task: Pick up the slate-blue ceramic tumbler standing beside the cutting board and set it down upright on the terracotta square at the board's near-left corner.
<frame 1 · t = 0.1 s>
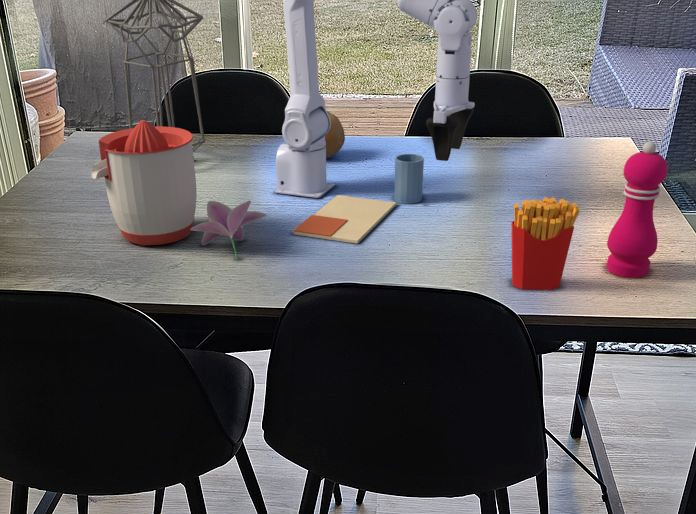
hand: (448, 154, 149), 10 cm above the table, tool pointing down, fingers open, 7 cm apart
geometric lantern: (170, 164, 181), on the table
french fries: (536, 285, 125), on the table
lily: (230, 251, 139), on the table
tumbler: (408, 199, 158), on the table
pepper mill: (627, 271, 129), on the table
citrus juicer: (153, 236, 145), on the table
cutting board: (346, 219, 150), on the table
onion: (322, 158, 183), on the table
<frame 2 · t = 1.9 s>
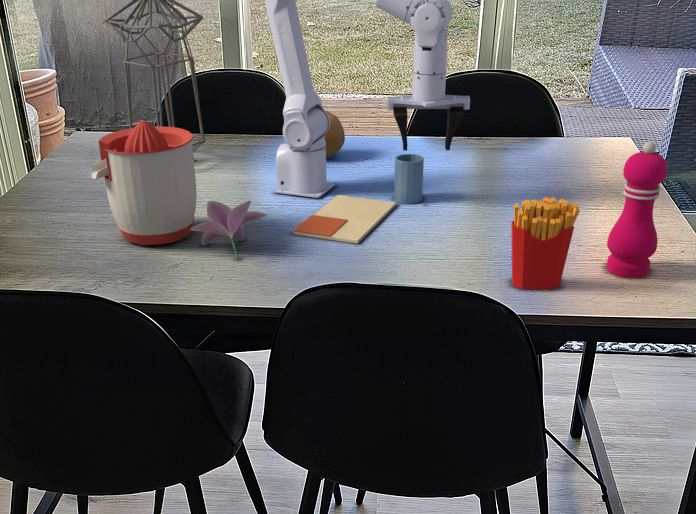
hand: (426, 149, 151), 10 cm above the table, tool pointing down, fingers open, 7 cm apart
nothing on the table moved.
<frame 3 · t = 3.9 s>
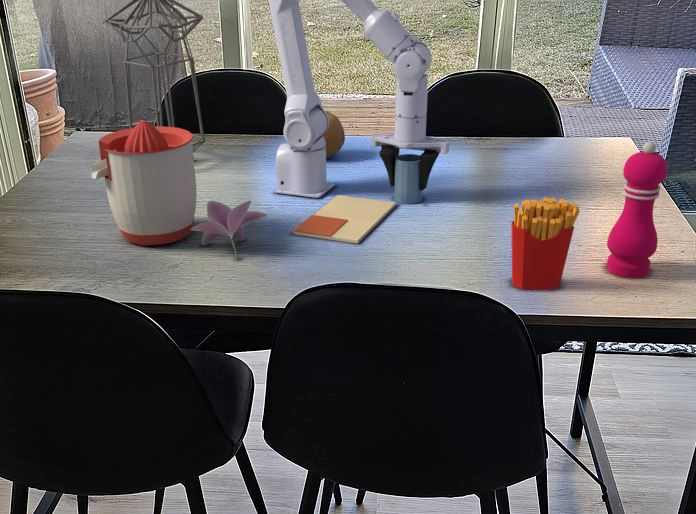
hand: (408, 186, 157), 2 cm above the table, tool pointing down, fingers closed on tumbler, 5 cm apart
tumbler: (408, 199, 158), on the table, touching gripper
everything else where it was.
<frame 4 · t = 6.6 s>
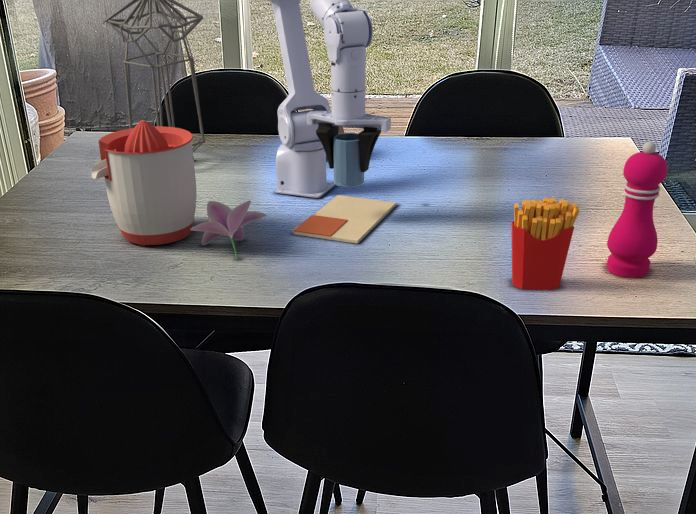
hand: (348, 168, 145), 9 cm above the table, tool pointing down, fingers closed on tumbler, 5 cm apart
tumbler: (349, 182, 146), point 7 cm above the table, touching gripper
everything else where it was.
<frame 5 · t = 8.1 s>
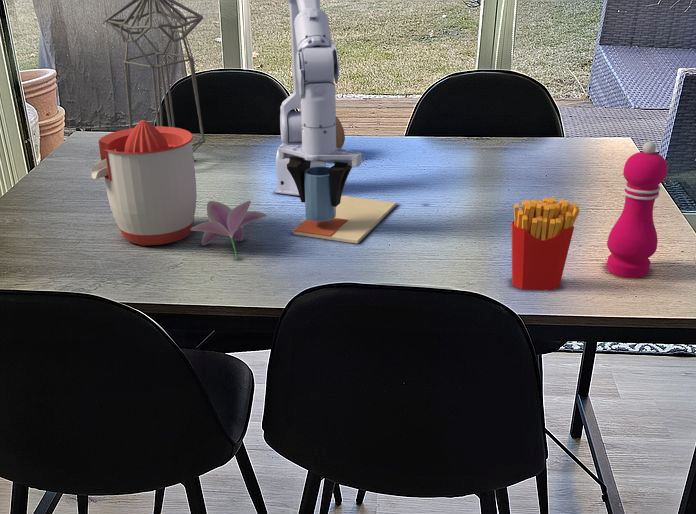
hand: (320, 202, 144), 5 cm above the table, tool pointing down, fingers closed on tumbler, 5 cm apart
tumbler: (320, 215, 145), point 2 cm above the table, touching gripper
everything else where it was.
when the fingers open (3 cm above the table, at t = 9.2 s): tumbler stays where it is, resting on cutting board.
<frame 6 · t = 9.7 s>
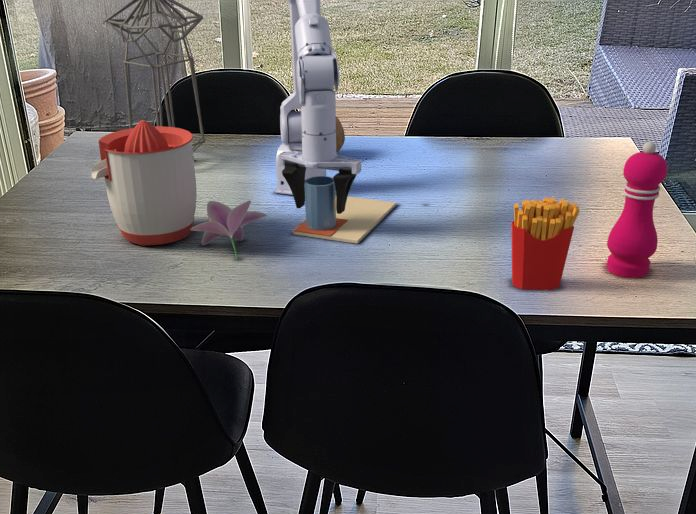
hand: (320, 209, 144), 4 cm above the table, tool pointing down, fingers open, 7 cm apart
tumbler: (321, 224, 146), point 1 cm above the table, touching cutting board
everything else where it was.
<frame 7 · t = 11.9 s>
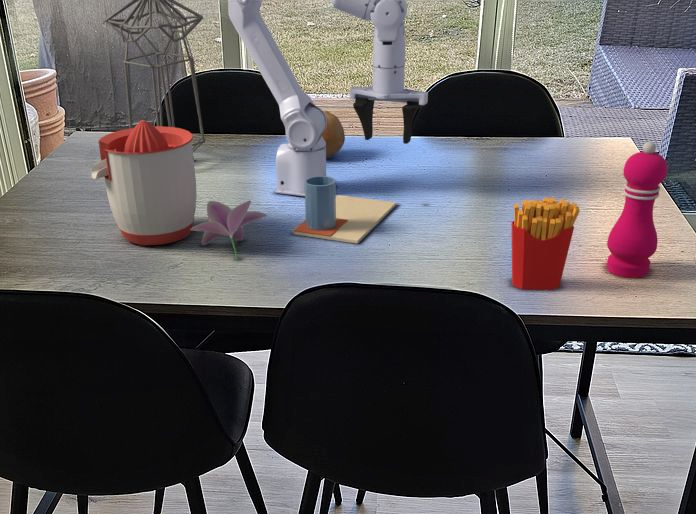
hand: (387, 140, 156), 10 cm above the table, tool pointing down, fingers open, 7 cm apart
nothing on the table moved.
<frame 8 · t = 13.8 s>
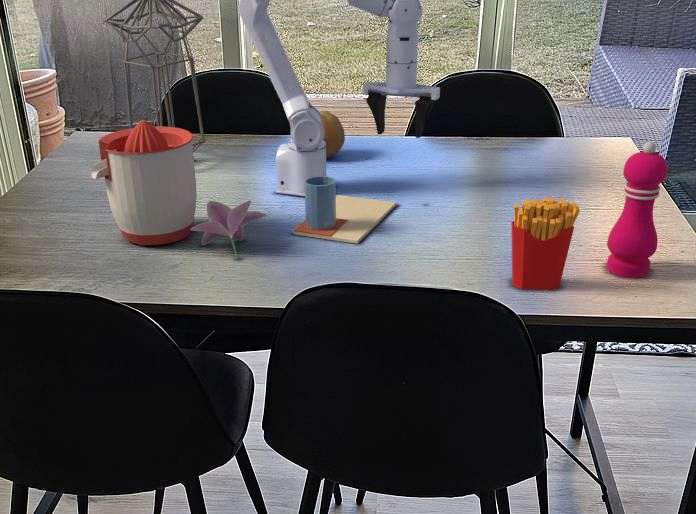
hand: (399, 134, 159), 10 cm above the table, tool pointing down, fingers open, 7 cm apart
nothing on the table moved.
at the end: tumbler inside the target area on the cutting board (0.1 cm from its centre), point 0.8 cm above the cutting board's base; tumbler tilted 0°; the gripper is holding nothing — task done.
